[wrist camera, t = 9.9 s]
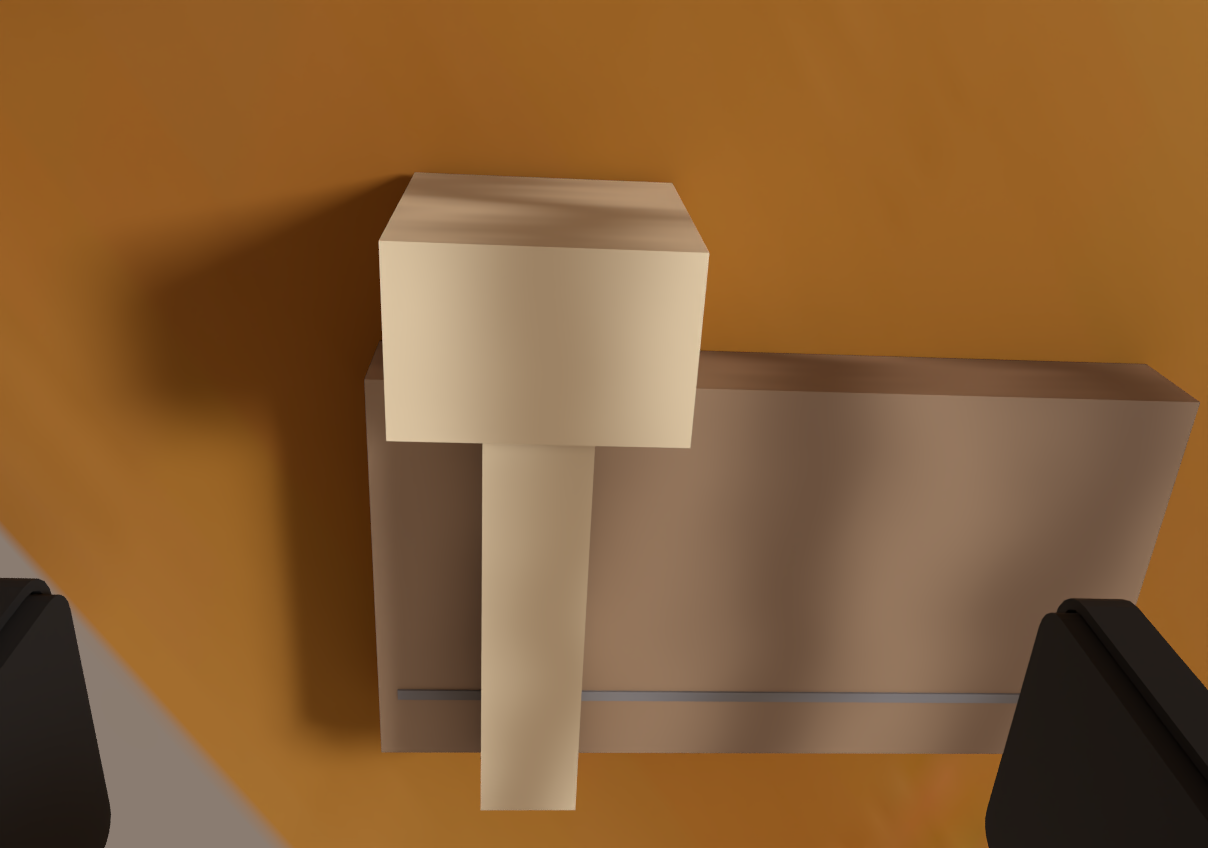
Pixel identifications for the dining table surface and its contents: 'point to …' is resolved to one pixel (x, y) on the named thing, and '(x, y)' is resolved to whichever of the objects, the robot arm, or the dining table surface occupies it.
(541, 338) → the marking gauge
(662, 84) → the dining table surface
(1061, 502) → the walnut board
